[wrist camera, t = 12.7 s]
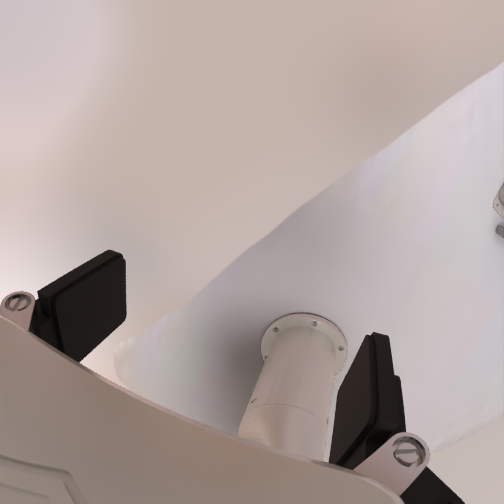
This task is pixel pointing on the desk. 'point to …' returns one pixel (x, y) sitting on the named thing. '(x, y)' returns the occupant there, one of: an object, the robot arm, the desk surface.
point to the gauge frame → (500, 231)
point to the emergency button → (499, 202)
